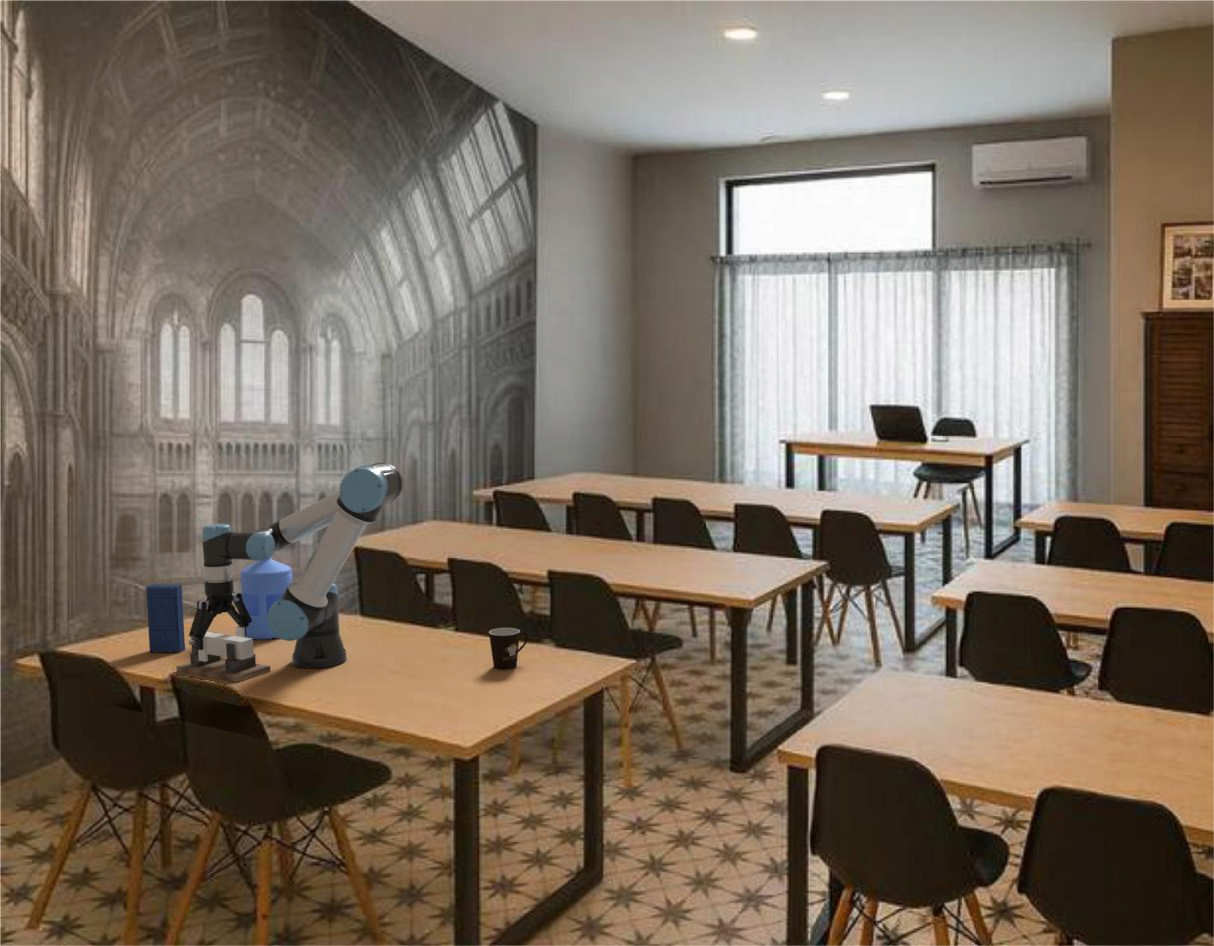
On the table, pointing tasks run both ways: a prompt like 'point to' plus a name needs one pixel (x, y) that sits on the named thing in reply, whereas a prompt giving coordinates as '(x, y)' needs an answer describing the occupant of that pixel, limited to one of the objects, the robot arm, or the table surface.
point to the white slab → (219, 641)
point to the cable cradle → (222, 665)
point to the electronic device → (165, 617)
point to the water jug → (263, 593)
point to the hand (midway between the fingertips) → (222, 655)
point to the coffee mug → (505, 647)
